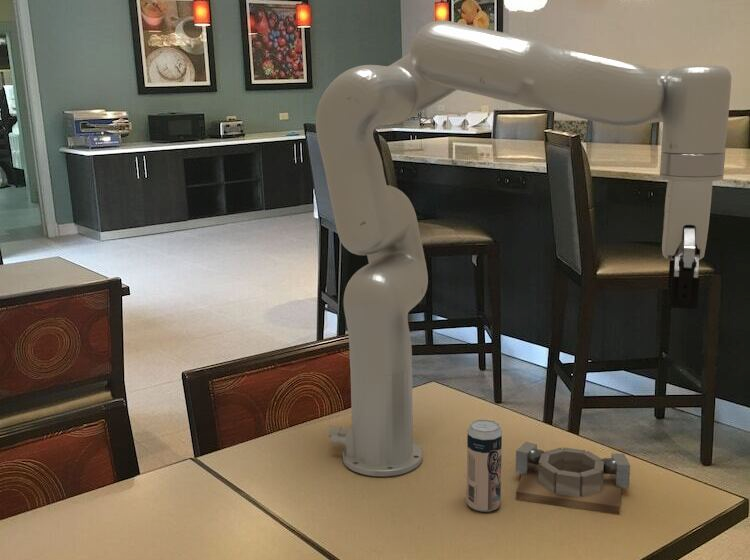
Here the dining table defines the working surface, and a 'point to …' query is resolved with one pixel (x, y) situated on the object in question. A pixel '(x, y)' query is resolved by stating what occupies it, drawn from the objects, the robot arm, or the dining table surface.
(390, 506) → the dining table surface
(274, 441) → the dining table surface
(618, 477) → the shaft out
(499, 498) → the beer can
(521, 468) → the shaft in
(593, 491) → the octagonal gimbal ring stand
